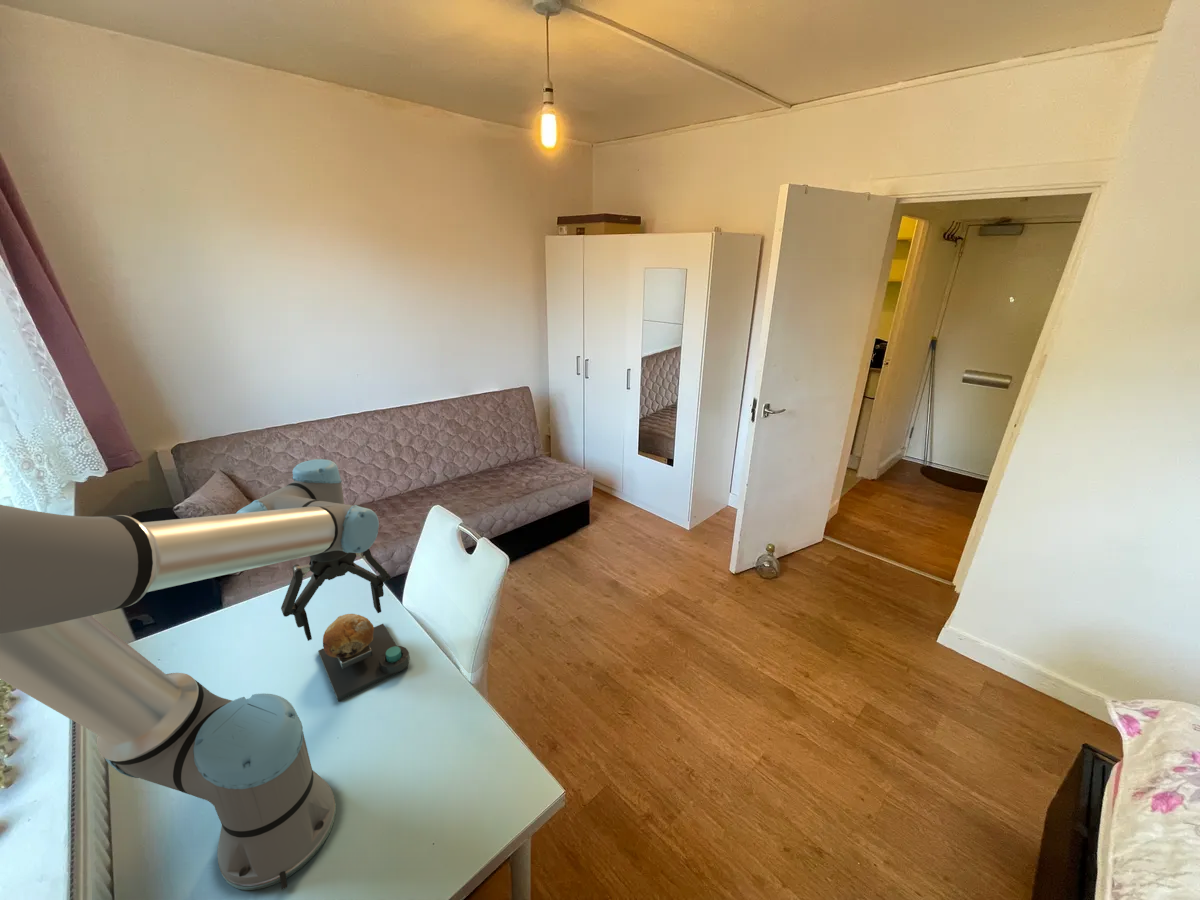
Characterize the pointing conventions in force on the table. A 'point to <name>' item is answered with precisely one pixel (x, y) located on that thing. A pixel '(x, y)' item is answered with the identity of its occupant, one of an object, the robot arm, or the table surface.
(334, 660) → the scale
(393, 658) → the tare button
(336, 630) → the bread roll
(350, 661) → the silver metal plate
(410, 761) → the table surface
